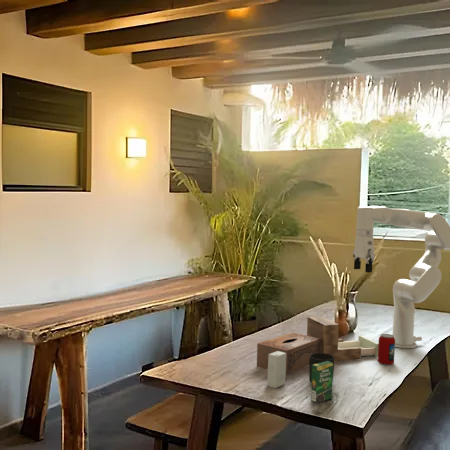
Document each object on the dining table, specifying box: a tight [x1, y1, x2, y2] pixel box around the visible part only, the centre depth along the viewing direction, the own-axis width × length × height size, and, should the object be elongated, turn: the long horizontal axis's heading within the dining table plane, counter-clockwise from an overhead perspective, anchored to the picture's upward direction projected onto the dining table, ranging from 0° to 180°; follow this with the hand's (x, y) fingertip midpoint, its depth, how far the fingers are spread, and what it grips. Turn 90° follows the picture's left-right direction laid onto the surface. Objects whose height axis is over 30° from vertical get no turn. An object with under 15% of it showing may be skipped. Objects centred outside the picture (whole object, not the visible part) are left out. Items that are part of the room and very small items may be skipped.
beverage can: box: [377, 333, 396, 366], centre depth 246 cm, size 7×7×12 cm
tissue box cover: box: [256, 331, 321, 376], centre depth 241 cm, size 26×14×10 cm, turn 140°
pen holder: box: [308, 353, 335, 383], centre depth 219 cm, size 9×9×10 cm
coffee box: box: [310, 361, 334, 404], centre depth 200 cm, size 8×3×13 cm, turn 125°
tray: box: [338, 334, 379, 358], centre depth 258 cm, size 19×15×6 cm
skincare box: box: [266, 351, 286, 389], centre depth 215 cm, size 6×4×12 cm
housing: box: [306, 315, 362, 363], centre depth 255 cm, size 18×16×16 cm
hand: (362, 270), depth 266 cm, fingers open, 9 cm apart
